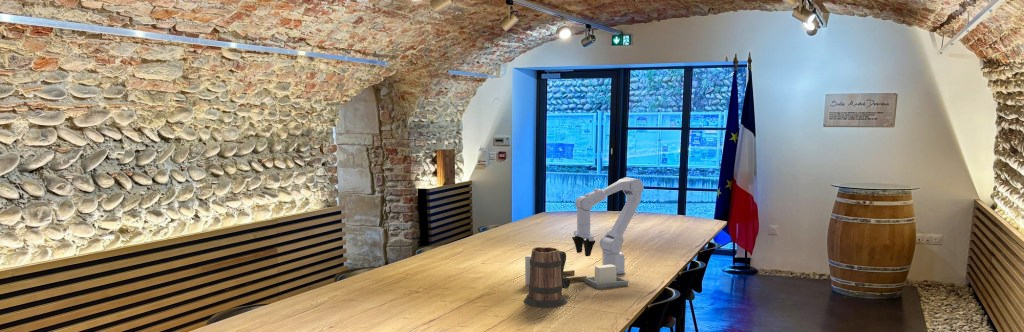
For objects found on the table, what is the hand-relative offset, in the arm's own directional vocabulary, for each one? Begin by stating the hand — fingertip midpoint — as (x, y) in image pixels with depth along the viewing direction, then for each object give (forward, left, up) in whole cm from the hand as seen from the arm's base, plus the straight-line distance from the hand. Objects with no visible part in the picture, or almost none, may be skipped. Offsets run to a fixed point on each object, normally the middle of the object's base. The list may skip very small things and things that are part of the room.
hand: (583, 254), depth 282 cm
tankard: (+29, +28, -10) cm, 41 cm away
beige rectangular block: (-2, +16, -9) cm, 19 cm away
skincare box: (+26, +5, -10) cm, 28 cm away
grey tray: (-2, +16, -9) cm, 19 cm away
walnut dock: (+8, +3, -9) cm, 12 cm away
